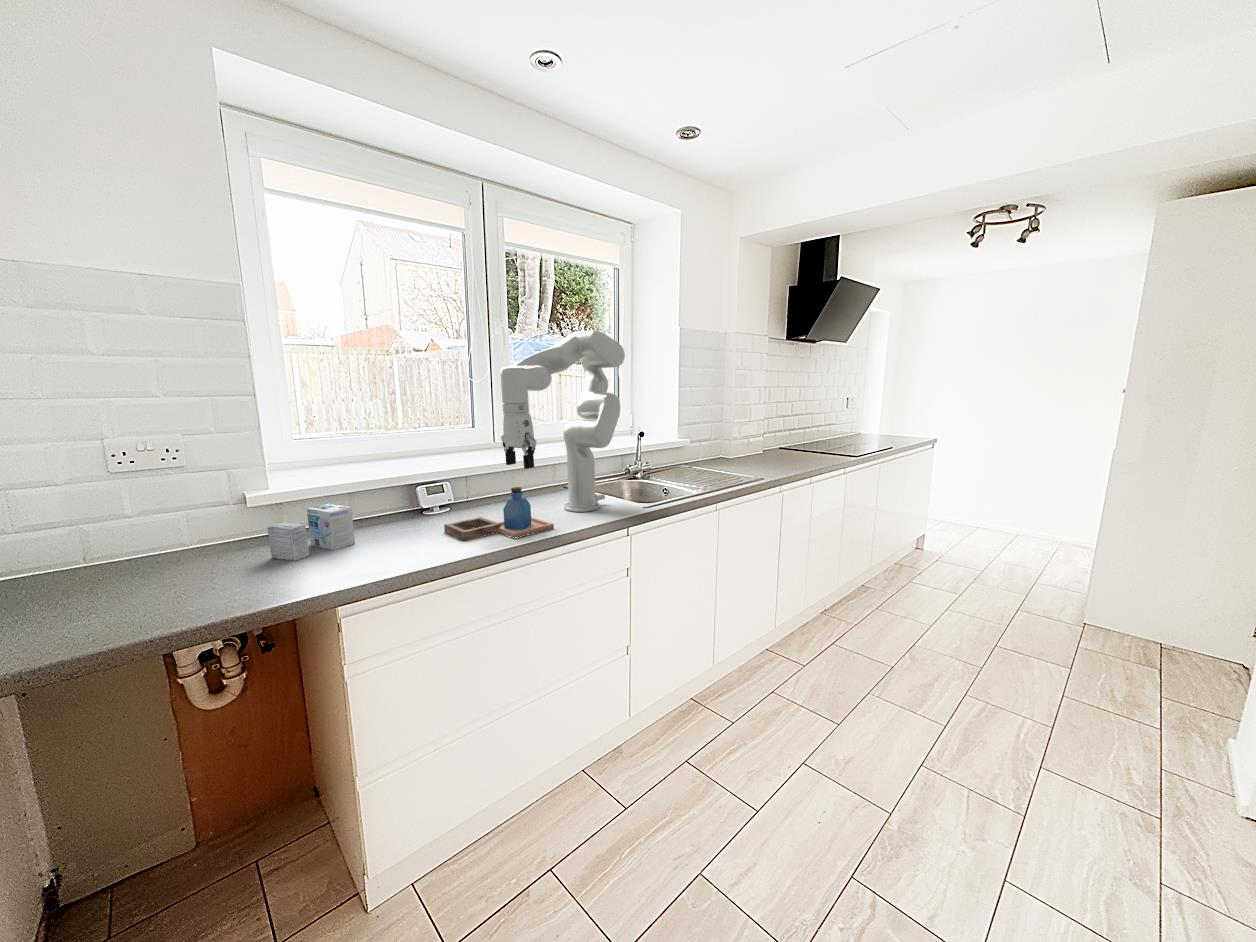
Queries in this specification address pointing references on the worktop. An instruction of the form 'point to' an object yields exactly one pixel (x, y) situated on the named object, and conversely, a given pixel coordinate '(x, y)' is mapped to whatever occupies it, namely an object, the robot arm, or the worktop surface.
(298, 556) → the medicine box
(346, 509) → the light bulb box
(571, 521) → the worktop surface
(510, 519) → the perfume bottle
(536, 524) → the dish
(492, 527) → the socket block
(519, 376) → the robot arm
